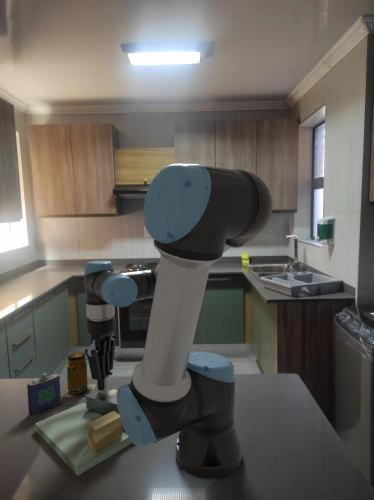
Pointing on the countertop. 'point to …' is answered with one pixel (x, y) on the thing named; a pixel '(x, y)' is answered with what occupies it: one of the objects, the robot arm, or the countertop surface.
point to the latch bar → (101, 403)
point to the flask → (44, 394)
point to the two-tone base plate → (84, 435)
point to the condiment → (78, 376)
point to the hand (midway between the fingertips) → (103, 398)
